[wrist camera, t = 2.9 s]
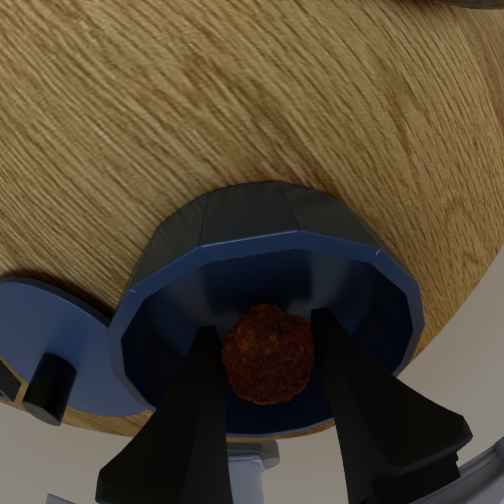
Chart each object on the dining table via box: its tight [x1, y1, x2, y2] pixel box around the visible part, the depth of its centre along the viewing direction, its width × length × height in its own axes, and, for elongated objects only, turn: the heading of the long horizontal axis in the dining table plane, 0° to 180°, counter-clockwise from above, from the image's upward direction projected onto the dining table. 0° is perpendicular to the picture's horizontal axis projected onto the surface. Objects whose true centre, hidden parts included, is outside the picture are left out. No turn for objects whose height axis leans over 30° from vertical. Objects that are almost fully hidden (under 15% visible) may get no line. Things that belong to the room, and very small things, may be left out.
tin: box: [106, 182, 425, 438], centre depth 11 cm, size 11×11×4 cm
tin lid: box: [0, 276, 146, 426], centre depth 11 cm, size 12×12×5 cm
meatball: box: [221, 303, 315, 405], centre depth 10 cm, size 4×4×4 cm
